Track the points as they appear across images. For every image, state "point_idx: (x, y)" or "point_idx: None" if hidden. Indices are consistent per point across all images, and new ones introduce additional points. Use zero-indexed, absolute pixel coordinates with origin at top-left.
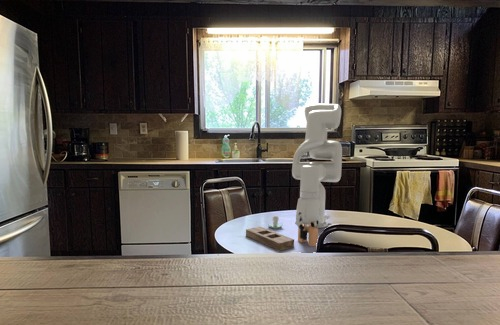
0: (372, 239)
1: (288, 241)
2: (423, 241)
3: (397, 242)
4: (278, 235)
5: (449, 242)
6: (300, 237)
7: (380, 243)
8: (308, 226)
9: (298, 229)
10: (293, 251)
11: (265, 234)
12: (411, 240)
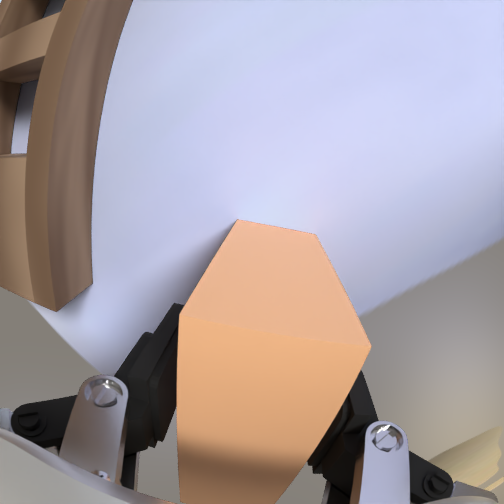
0: (488, 444)
1: (14, 291)
2: (489, 478)
3: (472, 475)
4: (35, 108)
5: (489, 487)
6: (173, 309)
7: (451, 473)
8: (256, 464)
9: (205, 273)
10: (50, 321)
11: (3, 42)
12: (493, 471)
